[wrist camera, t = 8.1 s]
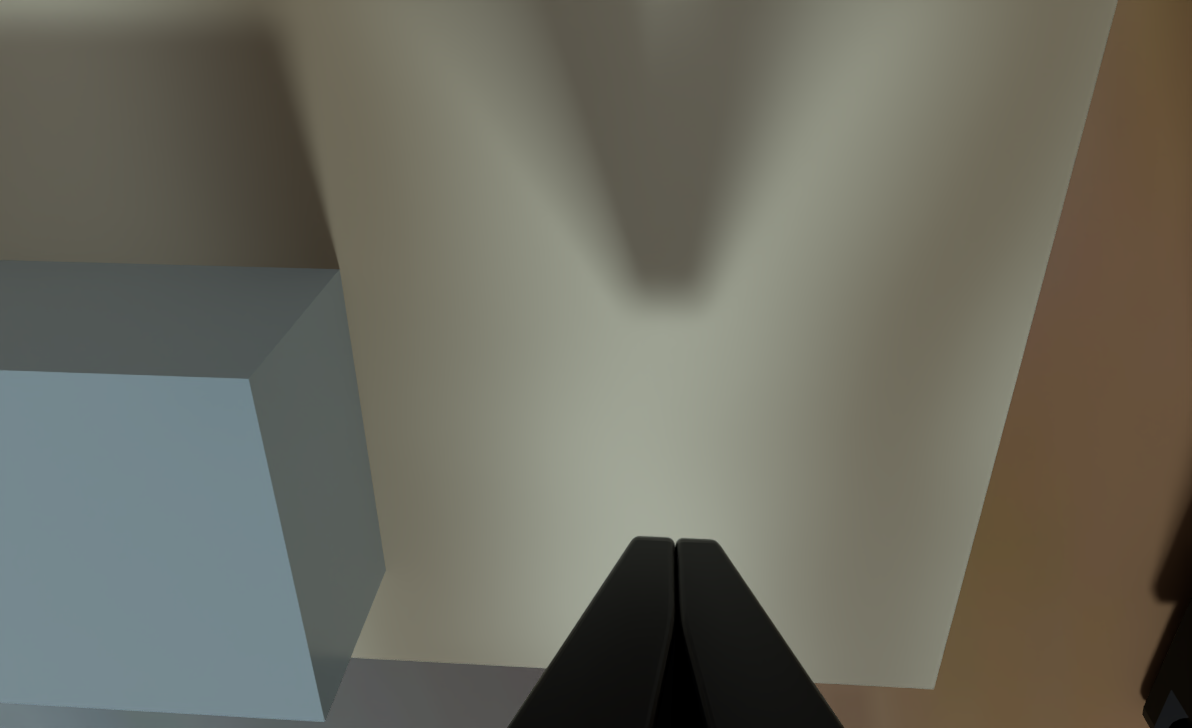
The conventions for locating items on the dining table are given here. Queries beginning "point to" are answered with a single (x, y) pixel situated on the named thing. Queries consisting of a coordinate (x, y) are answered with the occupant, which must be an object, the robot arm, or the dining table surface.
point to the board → (604, 272)
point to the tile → (181, 489)
